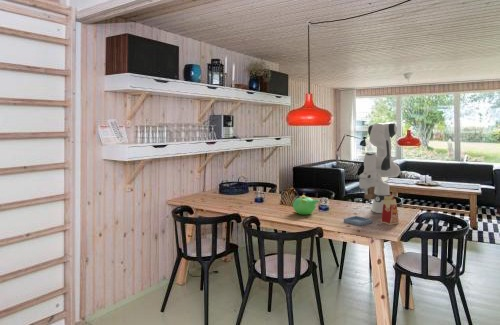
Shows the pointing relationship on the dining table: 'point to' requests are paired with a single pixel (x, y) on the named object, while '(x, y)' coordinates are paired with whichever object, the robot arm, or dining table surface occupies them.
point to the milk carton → (390, 211)
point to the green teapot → (304, 205)
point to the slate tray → (358, 220)
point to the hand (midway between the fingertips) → (369, 194)
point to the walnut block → (370, 193)
